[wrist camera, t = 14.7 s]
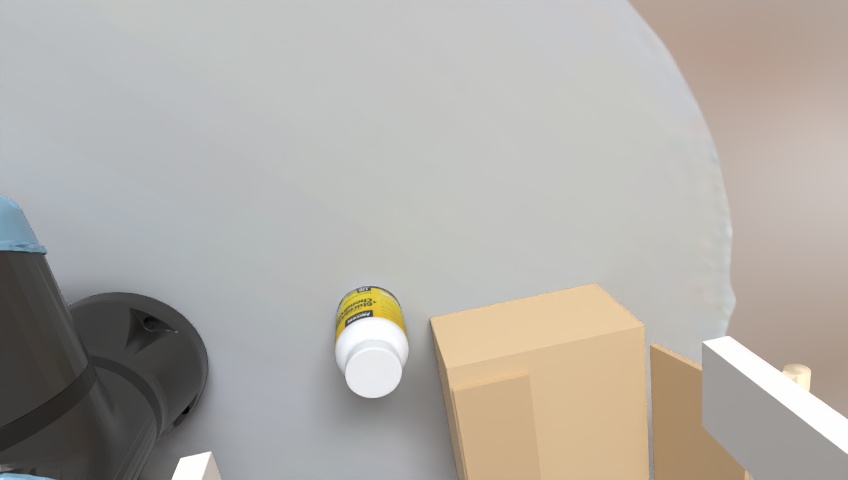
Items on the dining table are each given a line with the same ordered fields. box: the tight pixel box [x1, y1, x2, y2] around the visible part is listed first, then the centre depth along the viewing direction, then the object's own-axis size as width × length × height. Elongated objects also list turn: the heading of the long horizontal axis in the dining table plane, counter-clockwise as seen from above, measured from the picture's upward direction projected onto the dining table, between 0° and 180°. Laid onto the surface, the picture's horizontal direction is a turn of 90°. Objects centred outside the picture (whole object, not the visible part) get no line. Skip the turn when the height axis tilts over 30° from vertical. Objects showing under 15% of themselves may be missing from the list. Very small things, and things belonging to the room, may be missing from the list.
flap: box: [650, 343, 811, 480], centre depth 48 cm, size 10×16×8 cm
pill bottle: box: [335, 285, 409, 398], centre depth 50 cm, size 6×6×12 cm
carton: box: [430, 283, 649, 480], centre depth 55 cm, size 18×20×11 cm
